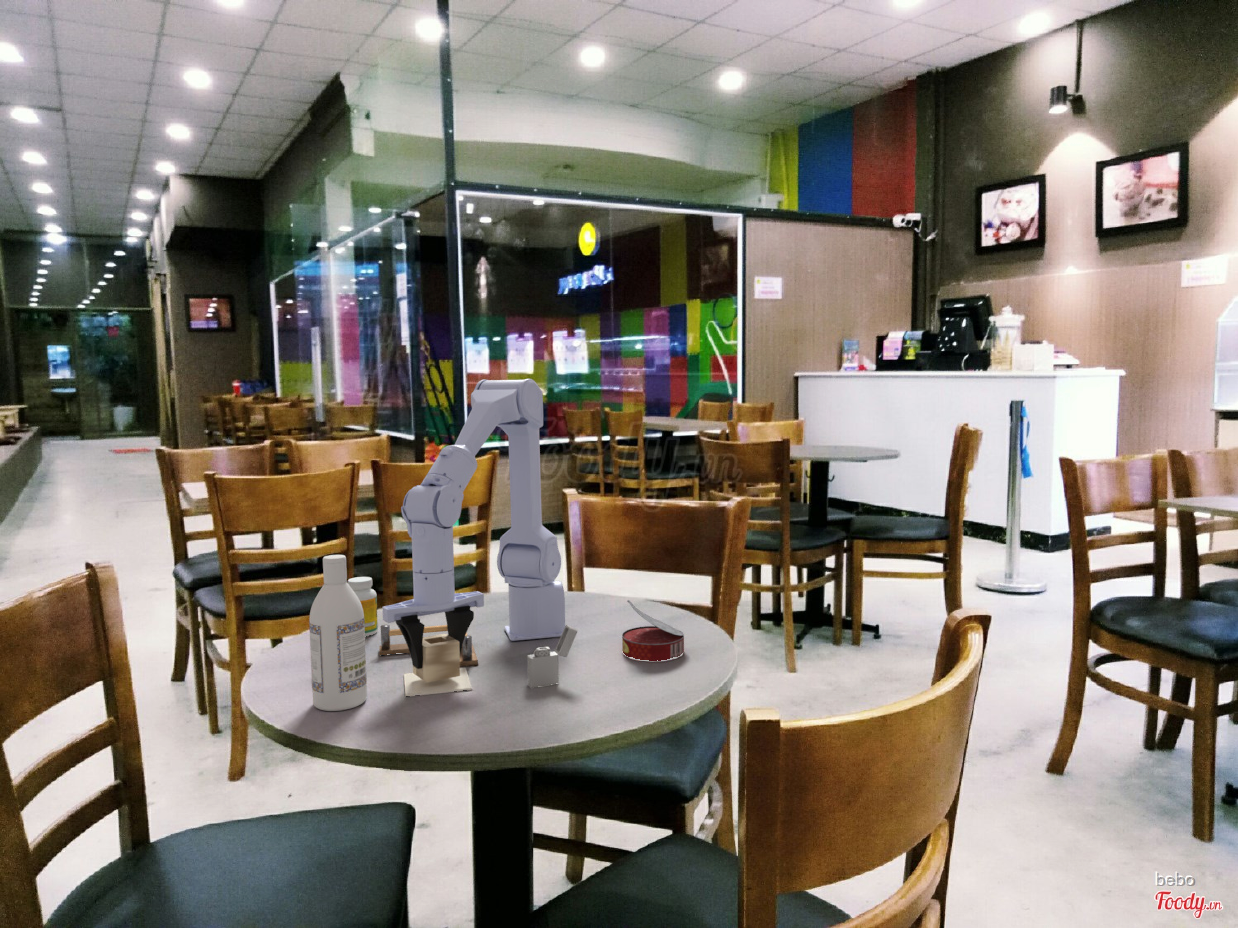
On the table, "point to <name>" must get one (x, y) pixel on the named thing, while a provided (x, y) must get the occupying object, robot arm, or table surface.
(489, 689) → the table surface
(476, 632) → the table surface
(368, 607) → the supplement bottle
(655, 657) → the canned food
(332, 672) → the bath foam
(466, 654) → the wooden rail
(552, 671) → the lighter
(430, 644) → the hollow wooden cube
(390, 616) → the robot arm
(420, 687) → the coaster
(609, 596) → the table surface
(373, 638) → the table surface
